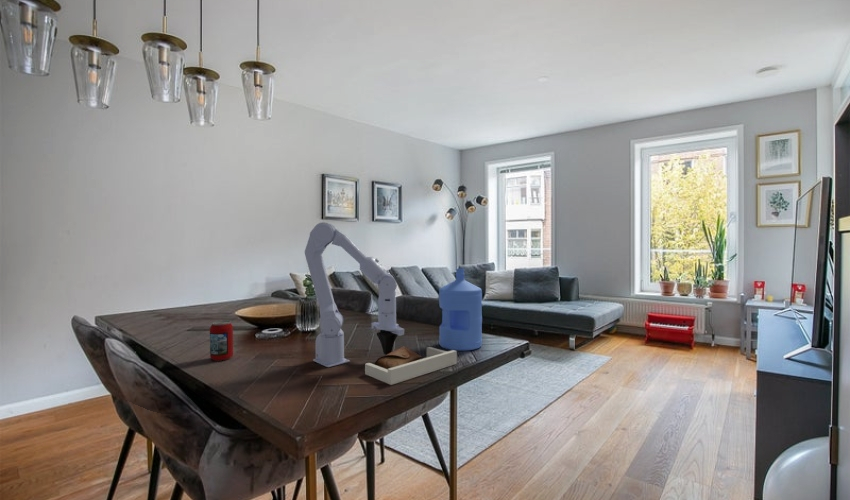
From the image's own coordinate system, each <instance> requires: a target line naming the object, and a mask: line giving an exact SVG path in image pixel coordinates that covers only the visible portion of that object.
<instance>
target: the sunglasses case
mask: <svg viewBox="0 0 850 500" xmlns="http://www.w3.org/2000/svg"><path fill="white" fill-rule="evenodd" d="M420 359H424V356H422V355H420V354H418V353H416V352H415V351H414V350H411V349H409V348H407V347H406V346H405V345H403V346H401V347H400V348H397V349H394V350H392V352H391V353H389V354H387V355H385V354H384V355H383V356H380V357H378V358H377V359H376V360H375V362H374V365H377V366H379V367H382V368H385V369H387V370H388V369H389V368H392V367H396V366H399V365H403V364H406V363H410V362H413V361H417V360H420Z"/></svg>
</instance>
